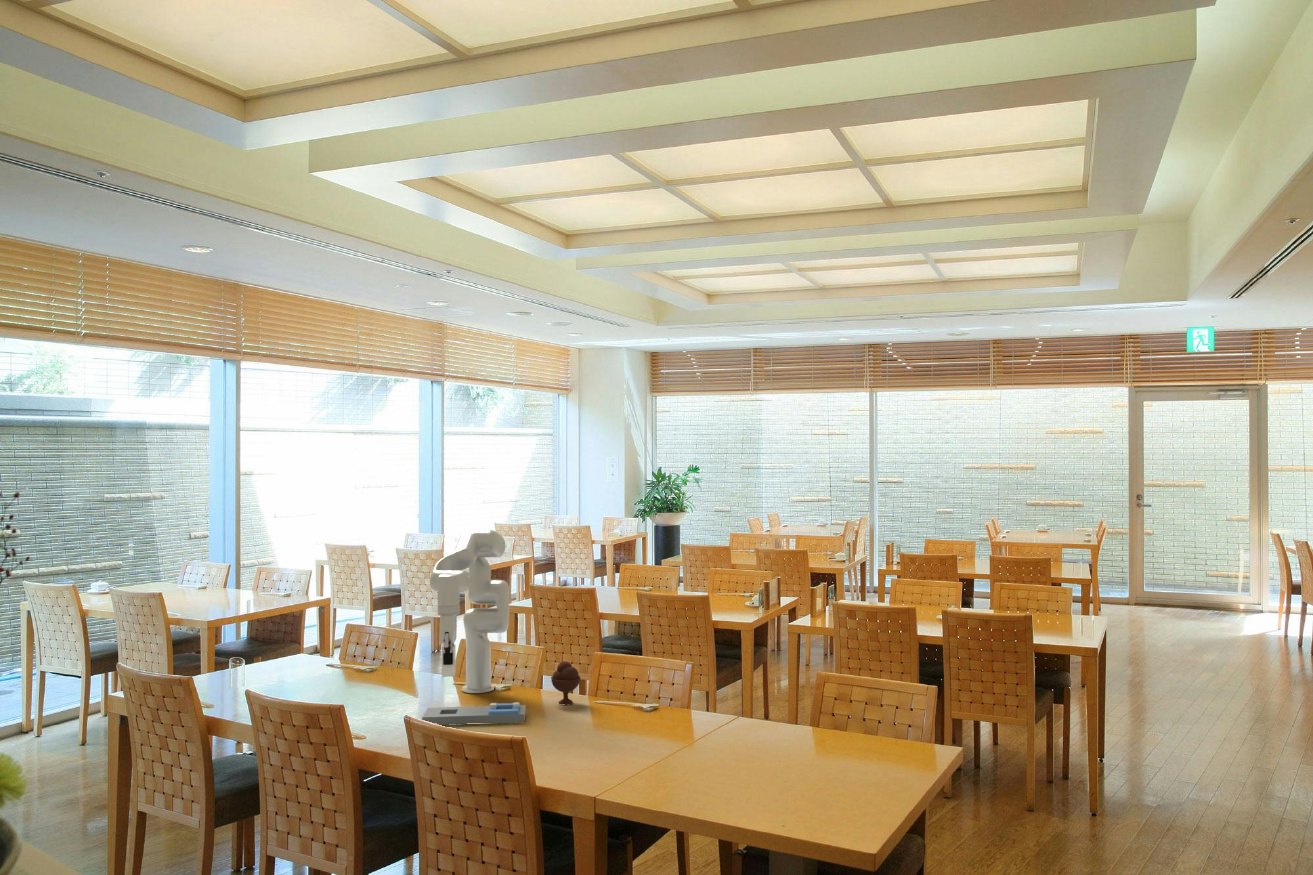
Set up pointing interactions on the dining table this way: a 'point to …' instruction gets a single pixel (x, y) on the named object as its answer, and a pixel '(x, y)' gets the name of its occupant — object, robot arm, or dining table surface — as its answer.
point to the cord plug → (449, 669)
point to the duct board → (477, 714)
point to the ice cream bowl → (565, 680)
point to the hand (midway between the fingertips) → (448, 662)
